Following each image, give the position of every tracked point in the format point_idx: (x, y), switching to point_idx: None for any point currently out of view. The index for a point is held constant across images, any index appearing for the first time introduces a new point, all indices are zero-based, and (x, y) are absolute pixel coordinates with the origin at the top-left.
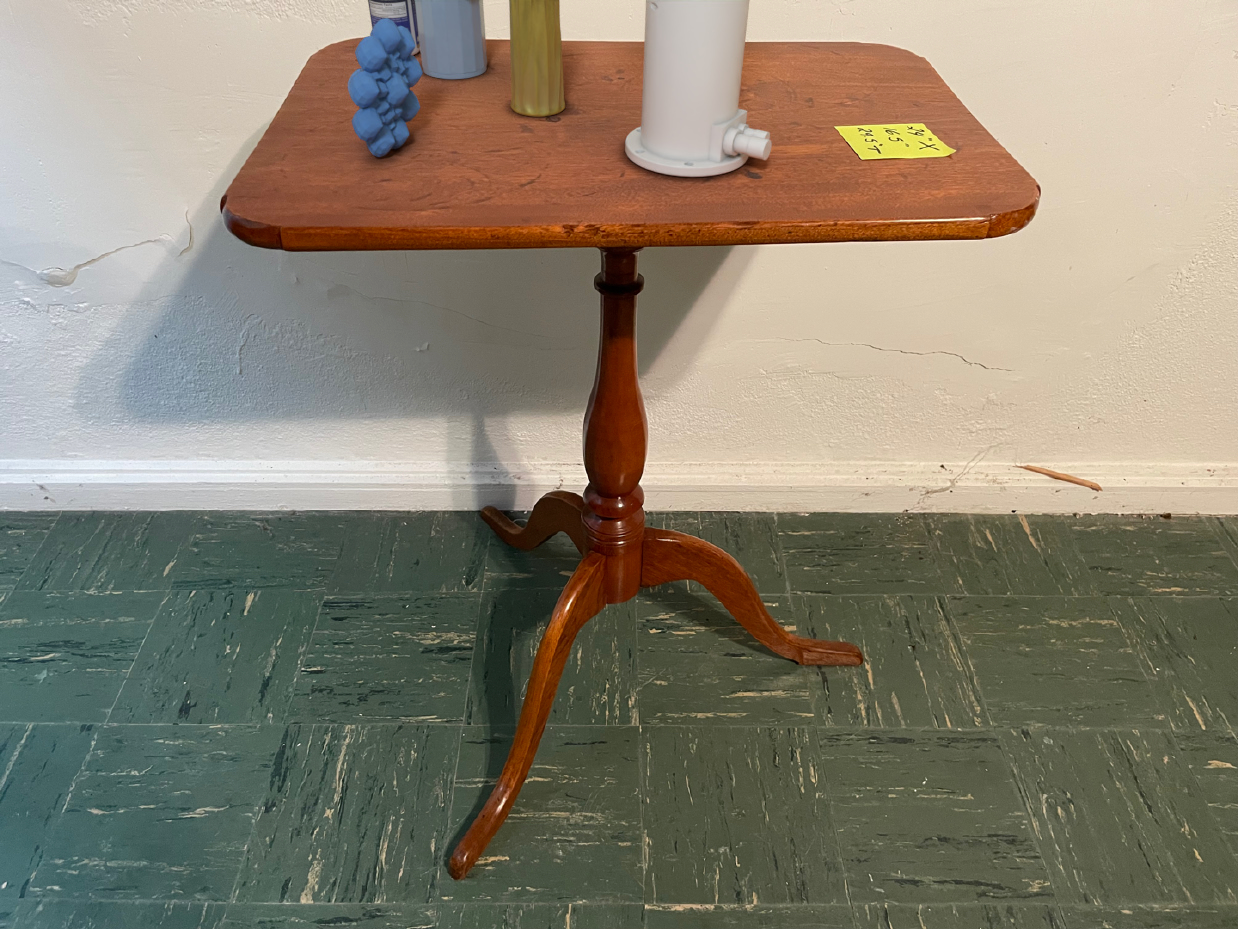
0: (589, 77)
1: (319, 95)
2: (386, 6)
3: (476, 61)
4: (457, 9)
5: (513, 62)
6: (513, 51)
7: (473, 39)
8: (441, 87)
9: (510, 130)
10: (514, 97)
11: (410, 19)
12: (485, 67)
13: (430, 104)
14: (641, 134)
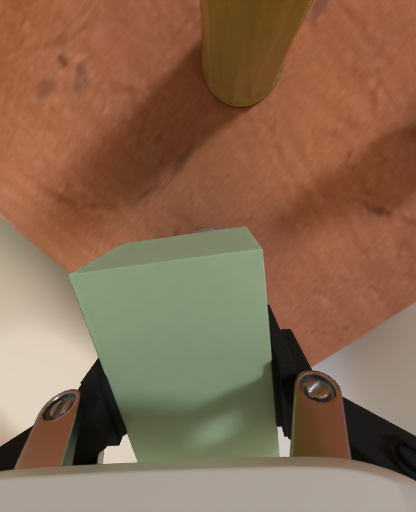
0: (97, 106)
1: (373, 306)
2: None
3: (207, 230)
4: None
5: (301, 23)
6: (311, 3)
7: None
8: (268, 229)
9: (341, 14)
10: (282, 64)
11: None
12: (188, 233)
13: (324, 191)
14: None
